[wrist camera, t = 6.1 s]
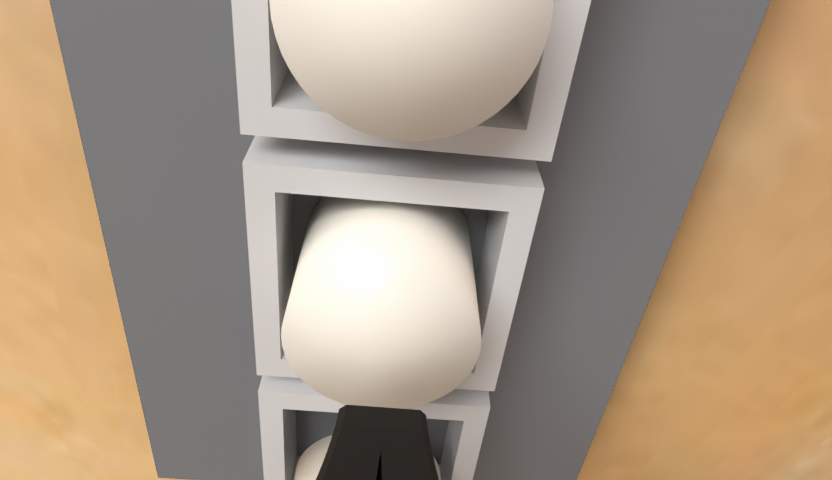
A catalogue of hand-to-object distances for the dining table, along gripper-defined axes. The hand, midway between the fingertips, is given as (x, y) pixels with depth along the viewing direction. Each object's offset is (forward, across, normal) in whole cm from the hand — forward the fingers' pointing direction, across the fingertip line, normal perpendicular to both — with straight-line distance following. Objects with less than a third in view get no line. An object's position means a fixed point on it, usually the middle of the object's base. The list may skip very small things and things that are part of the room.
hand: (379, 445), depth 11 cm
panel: (+8, 0, 0) cm, 8 cm away
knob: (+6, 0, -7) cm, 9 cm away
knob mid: (+6, 0, 0) cm, 6 cm away
